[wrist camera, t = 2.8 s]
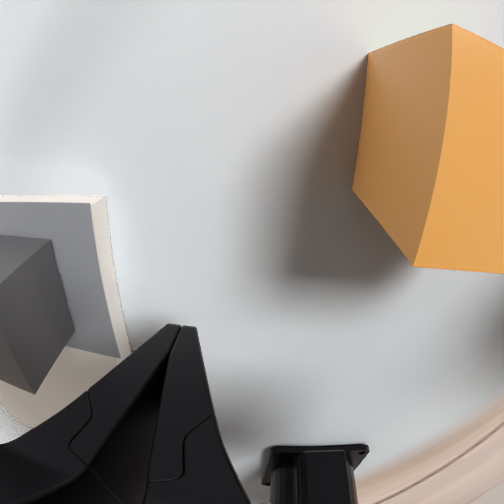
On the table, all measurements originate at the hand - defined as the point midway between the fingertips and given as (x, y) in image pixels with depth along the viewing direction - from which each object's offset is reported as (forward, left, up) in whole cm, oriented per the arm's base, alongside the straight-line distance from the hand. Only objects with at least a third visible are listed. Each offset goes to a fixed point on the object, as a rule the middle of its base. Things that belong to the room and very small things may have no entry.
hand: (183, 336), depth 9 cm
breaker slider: (0, +7, -1) cm, 7 cm away
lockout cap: (+6, -7, -3) cm, 10 cm away
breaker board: (-6, +10, -3) cm, 12 cm away
